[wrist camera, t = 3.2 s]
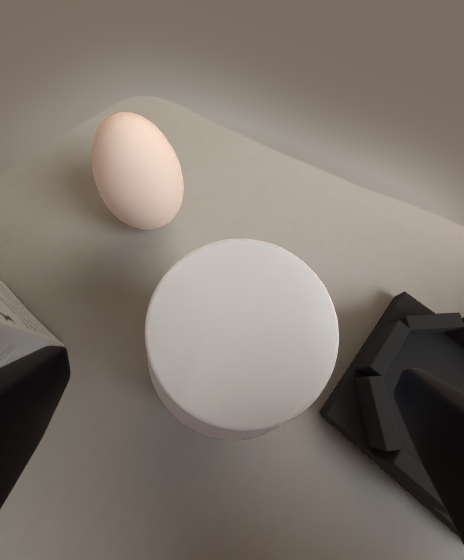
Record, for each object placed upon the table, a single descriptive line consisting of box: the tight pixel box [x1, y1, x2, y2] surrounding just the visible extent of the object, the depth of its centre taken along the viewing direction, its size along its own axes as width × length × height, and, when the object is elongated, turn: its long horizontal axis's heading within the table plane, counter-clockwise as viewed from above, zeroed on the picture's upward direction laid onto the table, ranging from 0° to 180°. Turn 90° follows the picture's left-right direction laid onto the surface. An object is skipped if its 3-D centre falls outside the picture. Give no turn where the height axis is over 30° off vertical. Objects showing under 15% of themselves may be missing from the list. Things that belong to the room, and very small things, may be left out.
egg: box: [92, 112, 184, 230], centre depth 16 cm, size 5×5×7 cm
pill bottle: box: [145, 238, 339, 440], centre depth 11 cm, size 6×6×10 cm
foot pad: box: [320, 292, 464, 536], centre depth 15 cm, size 9×9×2 cm
